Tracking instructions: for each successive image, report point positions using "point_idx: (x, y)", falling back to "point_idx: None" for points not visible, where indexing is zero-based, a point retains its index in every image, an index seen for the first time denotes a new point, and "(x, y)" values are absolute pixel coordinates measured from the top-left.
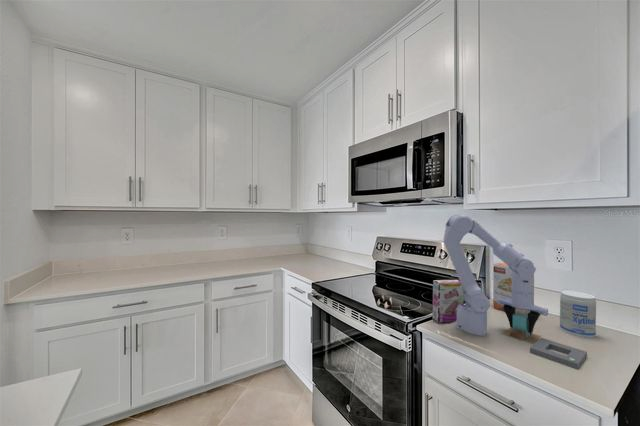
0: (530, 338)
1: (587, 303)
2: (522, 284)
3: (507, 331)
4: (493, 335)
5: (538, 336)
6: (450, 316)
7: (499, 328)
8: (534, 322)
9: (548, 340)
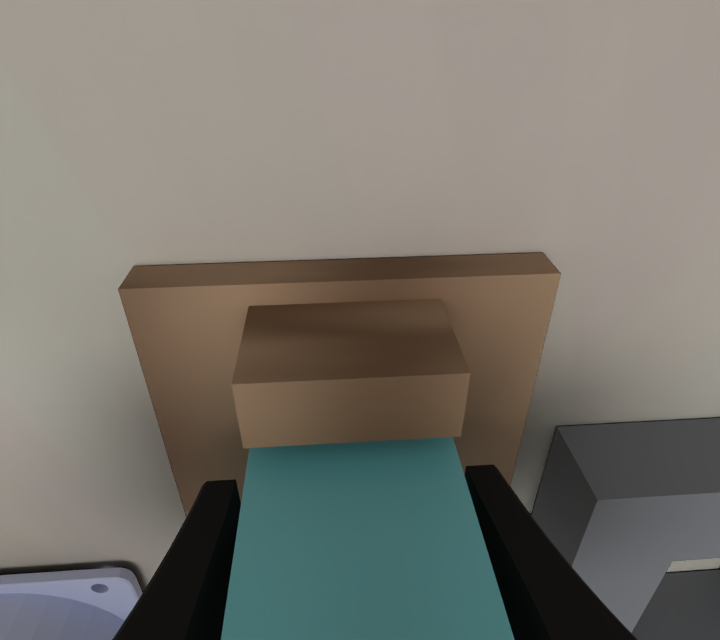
0: (460, 455)
1: None
2: None
3: (198, 476)
4: (150, 560)
5: (529, 322)
6: None
7: (23, 361)
8: (587, 621)
9: (668, 508)
